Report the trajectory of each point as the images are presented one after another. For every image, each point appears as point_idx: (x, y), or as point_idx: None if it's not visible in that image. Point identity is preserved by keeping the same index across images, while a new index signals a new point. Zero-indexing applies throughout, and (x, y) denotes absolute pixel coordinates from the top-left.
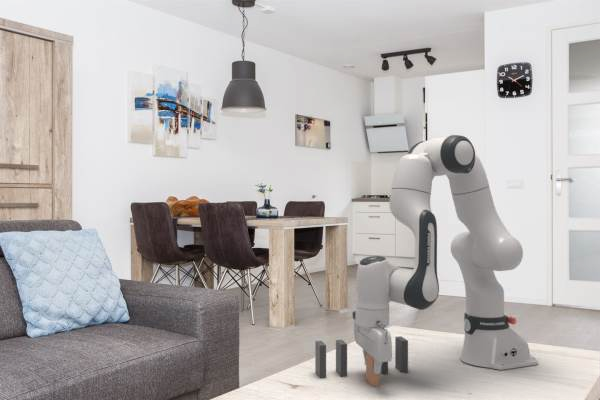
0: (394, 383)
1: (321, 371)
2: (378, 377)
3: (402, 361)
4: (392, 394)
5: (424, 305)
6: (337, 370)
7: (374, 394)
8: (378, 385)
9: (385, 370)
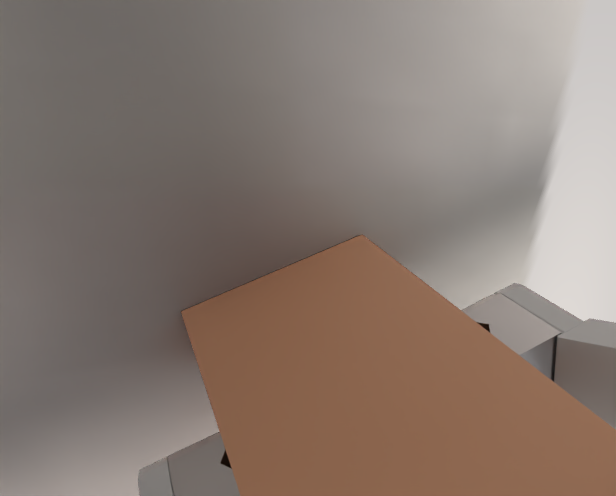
0: (287, 57)
1: None
2: (409, 275)
3: None
4: (560, 113)
5: None
6: None
7: (531, 254)
8: (364, 239)
9: None
